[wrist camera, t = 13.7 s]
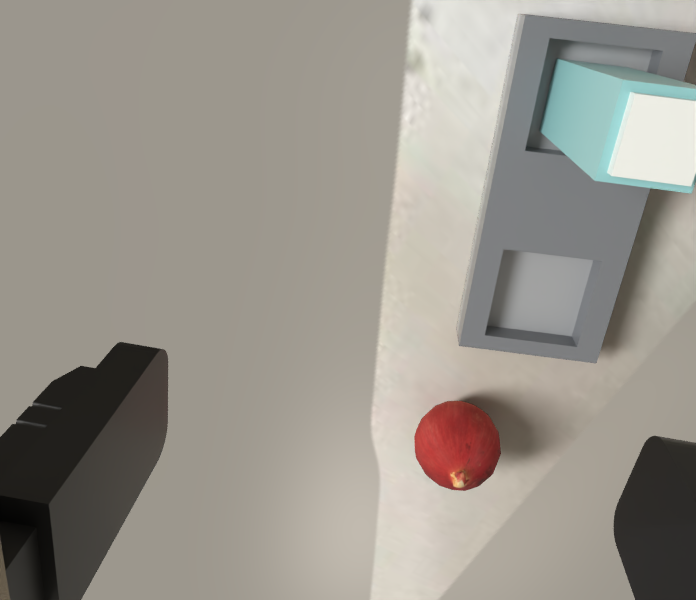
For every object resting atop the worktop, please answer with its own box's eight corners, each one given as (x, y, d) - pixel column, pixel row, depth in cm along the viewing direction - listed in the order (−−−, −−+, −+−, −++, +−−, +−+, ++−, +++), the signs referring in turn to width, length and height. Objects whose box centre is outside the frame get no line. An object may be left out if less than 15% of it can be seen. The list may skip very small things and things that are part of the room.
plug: (556, 58, 35) (627, 81, 24) (642, 69, 35) (755, 97, 24) (538, 130, 37) (598, 184, 26) (621, 141, 37) (717, 200, 26)
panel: (517, 14, 36) (525, 14, 33) (679, 32, 35) (698, 33, 33) (456, 328, 44) (459, 345, 42) (586, 345, 44) (596, 363, 41)
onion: (509, 411, 46) (529, 485, 39) (455, 458, 49) (464, 536, 41) (451, 365, 45) (460, 433, 38) (398, 415, 47) (396, 488, 40)
